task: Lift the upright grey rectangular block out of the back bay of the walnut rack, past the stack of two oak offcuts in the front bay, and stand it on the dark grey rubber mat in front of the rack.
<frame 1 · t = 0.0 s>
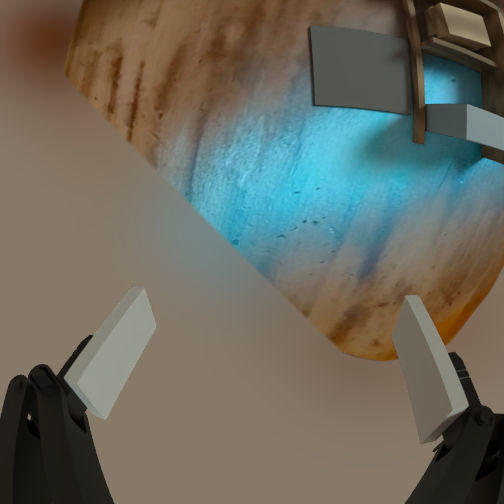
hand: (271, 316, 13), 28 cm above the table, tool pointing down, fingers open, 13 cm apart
grey rectangular block: (453, 124, 29), on the table
offcut lower: (445, 32, 22), resting in rack, touching offcut upper
offcut upper: (455, 28, 19), point 3 cm above the table, touching offcut lower
rack: (451, 70, 25), on the table
mat: (363, 68, 28), on the table
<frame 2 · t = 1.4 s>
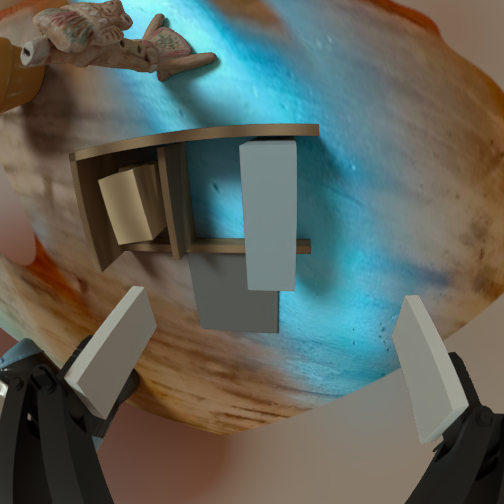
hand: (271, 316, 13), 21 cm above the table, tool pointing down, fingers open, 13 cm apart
grey rectangular block: (277, 187, 31), on the table
figurine: (169, 49, 25), on the table
flower pot: (31, 77, 26), on the table
offcut lower: (152, 191, 34), resting in rack, touching offcut upper
offcut upper: (139, 199, 31), point 3 cm above the table, touching offcut lower
rack: (202, 189, 33), on the table
mat: (235, 293, 39), on the table
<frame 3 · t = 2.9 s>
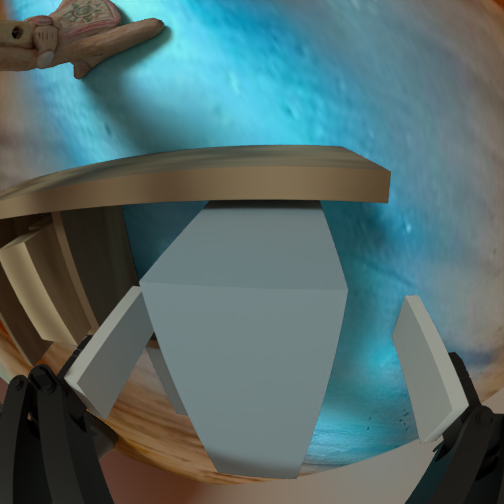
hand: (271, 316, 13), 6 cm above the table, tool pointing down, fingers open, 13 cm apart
grey rectangular block: (274, 261, 18), on the table
figurine: (95, 25, 12), on the table
offcut upper: (59, 273, 17), point 3 cm above the table, touching offcut lower
rack: (150, 258, 19), on the table
mat: (214, 387, 26), on the table
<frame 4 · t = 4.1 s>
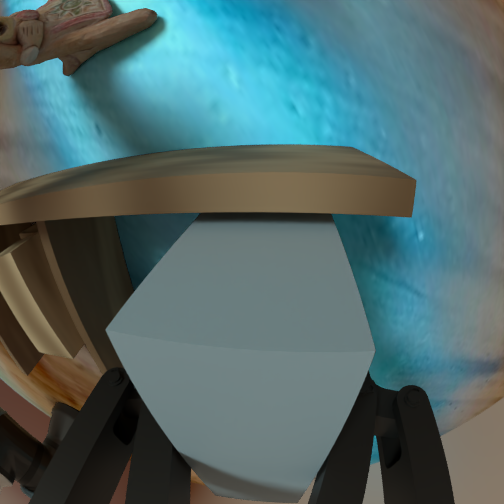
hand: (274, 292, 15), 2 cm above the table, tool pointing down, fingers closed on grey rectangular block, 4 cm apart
grey rectangular block: (277, 271, 17), on the table, touching gripper
figurine: (86, 19, 10), on the table
offcut upper: (52, 283, 16), point 3 cm above the table, touching offcut lower
rack: (144, 266, 18), on the table
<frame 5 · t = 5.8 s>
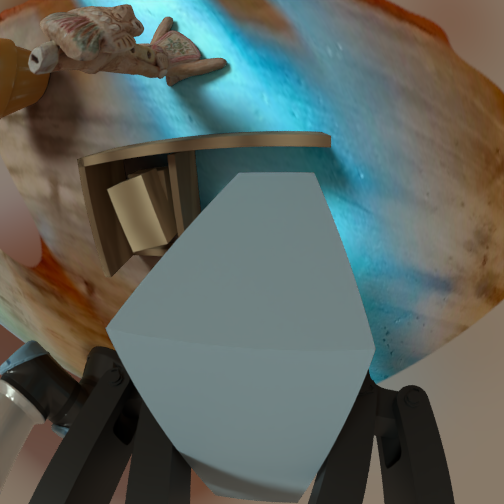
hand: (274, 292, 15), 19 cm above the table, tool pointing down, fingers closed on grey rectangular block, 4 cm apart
grey rectangular block: (277, 270, 17), point 17 cm above the table, touching gripper
figurine: (178, 53, 25), on the table
flower pot: (36, 79, 27), on the table
offcut lower: (162, 196, 34), resting in rack, touching offcut upper
offcut upper: (150, 205, 31), point 3 cm above the table, touching offcut lower
rack: (211, 195, 33), on the table
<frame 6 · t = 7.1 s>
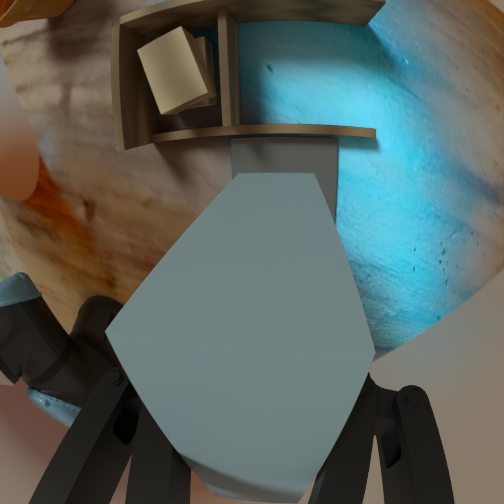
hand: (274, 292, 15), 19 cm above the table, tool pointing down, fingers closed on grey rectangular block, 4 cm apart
grey rectangular block: (277, 271, 17), point 17 cm above the table, touching gripper
offcut lower: (194, 76, 27), resting in rack, touching offcut upper
offcut upper: (183, 73, 24), point 3 cm above the table, touching offcut lower
rack: (253, 70, 25), on the table
mat: (284, 195, 32), on the table
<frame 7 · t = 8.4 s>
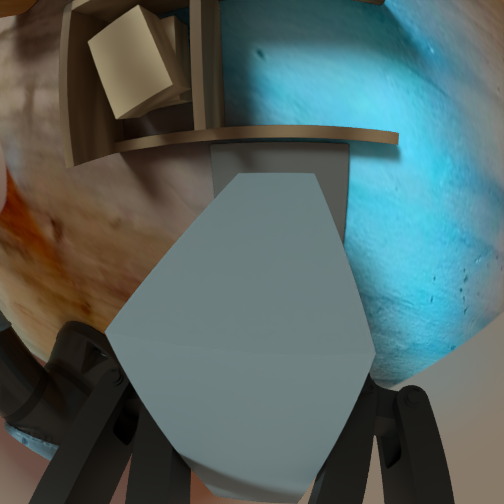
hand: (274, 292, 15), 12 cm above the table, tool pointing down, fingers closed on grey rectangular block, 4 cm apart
grey rectangular block: (277, 271, 17), point 10 cm above the table, touching gripper
offcut lower: (165, 68, 20), resting in rack, touching offcut upper
offcut upper: (147, 64, 17), point 3 cm above the table, touching offcut lower
rack: (240, 56, 19), on the table
mat: (280, 217, 25), on the table
when the fingers open (4 cm above the table, at t = 10.1 s): grey rectangular block drops 1 cm, resting on mat.
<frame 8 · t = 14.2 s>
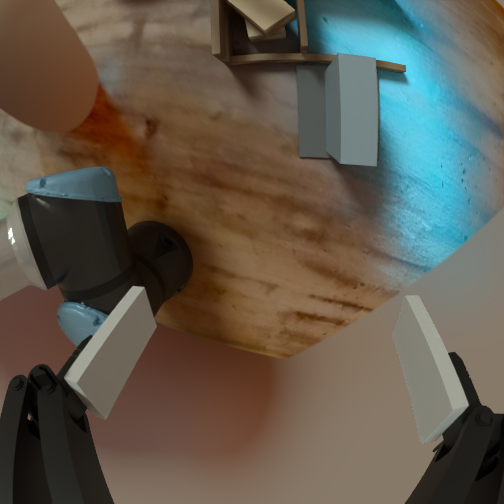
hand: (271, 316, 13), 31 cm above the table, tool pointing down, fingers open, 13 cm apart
grey rectangular block: (339, 112, 34), resting on mat
offcut lower: (264, 19, 29), resting in rack, touching offcut upper
offcut upper: (261, 11, 26), point 3 cm above the table, touching offcut lower
rack: (313, 20, 28), on the table
mat: (339, 111, 34), on the table
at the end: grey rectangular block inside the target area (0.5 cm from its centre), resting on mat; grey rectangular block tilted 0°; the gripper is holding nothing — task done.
